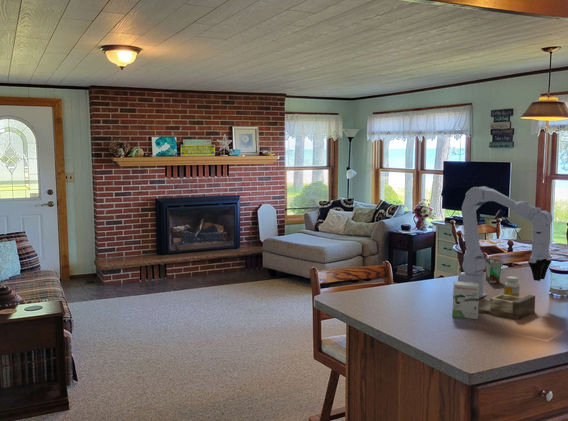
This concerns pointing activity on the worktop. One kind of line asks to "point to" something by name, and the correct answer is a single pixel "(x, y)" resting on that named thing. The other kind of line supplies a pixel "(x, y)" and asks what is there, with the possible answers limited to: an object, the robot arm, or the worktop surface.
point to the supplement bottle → (511, 286)
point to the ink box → (465, 300)
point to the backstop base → (519, 308)
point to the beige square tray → (503, 303)
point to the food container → (493, 270)
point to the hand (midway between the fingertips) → (539, 279)
